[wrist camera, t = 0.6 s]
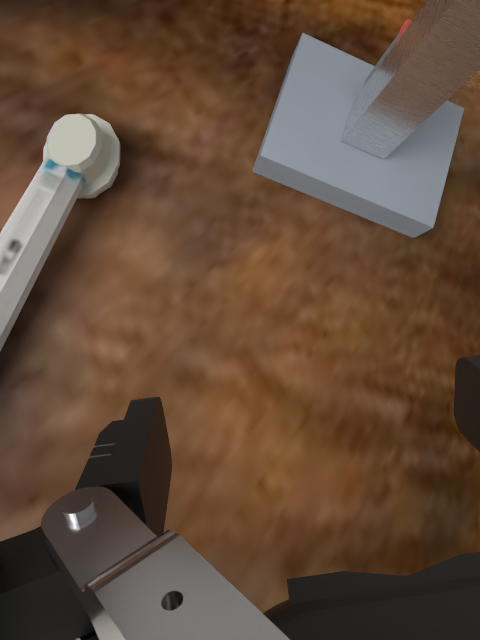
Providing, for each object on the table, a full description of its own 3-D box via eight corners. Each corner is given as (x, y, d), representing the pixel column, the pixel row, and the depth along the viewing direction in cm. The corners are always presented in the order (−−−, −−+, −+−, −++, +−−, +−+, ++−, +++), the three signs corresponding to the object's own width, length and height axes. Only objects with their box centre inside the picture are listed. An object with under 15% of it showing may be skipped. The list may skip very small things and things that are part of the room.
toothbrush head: (-134, 415, 28) (53, 72, 30) (-75, 397, 35) (76, 116, 36) (-53, 450, 29) (126, 112, 30) (-10, 425, 36) (136, 149, 37)
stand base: (252, 171, 39) (283, 108, 30) (292, 57, 41) (332, -35, 32) (413, 238, 42) (488, 198, 32) (443, 126, 44) (522, 58, 34)
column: (332, 137, 38) (604, -221, 15) (347, 88, 39) (626, -318, 16) (391, 162, 39) (733, -140, 16) (405, 114, 39) (749, -237, 17)
